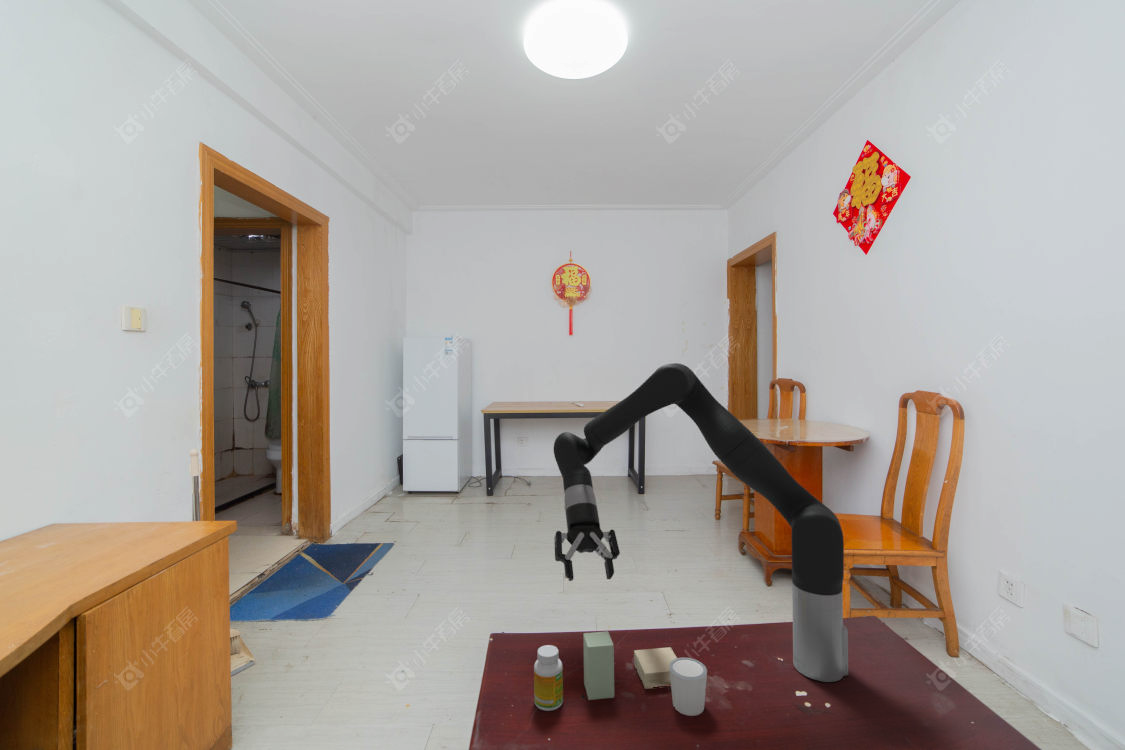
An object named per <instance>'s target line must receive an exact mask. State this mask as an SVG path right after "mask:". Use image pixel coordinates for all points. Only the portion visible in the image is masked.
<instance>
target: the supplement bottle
mask: <svg viewBox="0 0 1125 750" xmlns="http://www.w3.org/2000/svg"><path fill="white" fill-rule="evenodd" d="M559 654H560V653H559V649H558V647H556V646H555V645H552V644H547V645H546V644H545V645H542V646H540V647H539V648H538V649H537V656H536V657H537V659H536V661H535V662H534V666H533V680H534V681H533V686H534V687H533V688H534V689H533V691H534V692H533V693H534V694H533V695H534V698H533V700H534V704H535V706H536V707H537V708H538V709H539V710H542V711H546V712H550V711H551V712H552V711H555V710H558V709H559V708H560V707H561V706H562V704H563V702H564V682H563V681H564V679H563V677H564V675H563V673H564V672H563V669H564V667H563V662H562V661H561V659H560V657H559Z"/></svg>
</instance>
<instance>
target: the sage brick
mask: <svg viewBox="0 0 1125 750" xmlns="http://www.w3.org/2000/svg"><path fill="white" fill-rule="evenodd" d="M582 636H583V684H584V688H585V691H586V696H587V699H588V701H591V700H593V701H594V700H601V699H613V698H615V655H614V654H615V649H614V648H615V647H614V642H613V640H612V638H611V635H610V633H609V631H605V630H604V631H595V632H584V633H583V635H582Z"/></svg>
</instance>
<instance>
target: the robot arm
mask: <svg viewBox="0 0 1125 750" xmlns="http://www.w3.org/2000/svg"><path fill="white" fill-rule="evenodd" d="M671 405H676V406H677V407H678V408H679V409H681V410H682V411H683V412H684V413H685V414H686V415H687V416H688V417H689V418H690V419H691V420H692V422H693V423H694V424H695V425H696V426H697V428H698V430H699V431H700V432H701V434H702V437H703V438H704V440H705V442H706V443H707V445H708V446H709V448H710V450H711V451H712V452H713V453H714V455H715V456H716V458H718V460H719V461H721V463H722V464H723V465H724V466H725V467H726V468H727V469H728V470H729V471H730V473H732V474H733V475H734V476H735V477H736V478H737V479H738V480H739V481H741V482H742V483H744V484H745V485H746V486H748V487H749V488H751V489H752V490H753V491H755V492H756V493H758V494H759V495H761V496H762V497H763V498H765V499H766V500H767V501H768V502H769V503H770V504H771V505H772V506H773V507H774V508H775V510H777V511H778V512H779V514H780V515H781V516H782V517H783V518H784V519H785V521H786V522H787V524H788V525H789V526H790V528H791V579H792V580H791V581H792V583H791V584H792V585H791V586H792V589H791V591H792V595H791V596H792V600H791V601H792V663H793V666H794V668H795V669H796V670H797V671H798V672H799V673H800V674H802V675H803V676H805V677H807V678H809V679H812V680H815V681H819V682H824V683H832V682H833V683H834V682H835V683H836V682H838V681H841V679H843V677H845V676H849V636H848V635H849V630H848V627H847V626H846V625H844V610H843V608H844V606H843V602H844V601H843V595H844V593H843V590H844V589H843V586H844V585H843V582H844V577H845V576H844V566H845V565H844V564H845V563H844V561H845V560H844V558H845V557H844V556H845V555H844V553H845V550H844V549H845V547H844V545H845V544H844V533H843V529H842V526H841V523H840V521H839V518H838V517H837V515H836V514H835V512H833V511H832V510H831V509H830V508H829V507H828V506H826V505H825V504H824V503H823V502H822V501H820V500H819V499H817V498H816V497H815V496H814V495H813V494H811V493H810V492H809V491H808V490H807V489H806V488H804V487H803V486H802V485H801V484H800V483H799V482H798V481H797V480H796V479H795V478H794V477H793V476H792V475H791V474H790V473H789V471H788V470H787V468H786V467H784V466H783V464H782V463H781V462H780V461H779V459H778V458H777V457H776V456H775V455H774V454H773V453H772V452H771V451H770V450H769V449H768V447H767V446H766V445H765V444H764V443H763V442H762V441H761V440H760V439H759V438H758V437H757V436H756V435H755V434H754V433H753V432H752V431H751V430H750V429H749V428H747V426H745V425H744V424H743V423H742V422H741V421H740V420H739V419H738V418H737V417H736V416H735V415H733V413H731V412H730V411H729V410H728V409H727V408H726V407H725V406H724V405H722V404H721V403H720V402H719V400H717V399H716V398H715V397H714V396H713V394H712V393H711V392H710V391H709V389H708V388H707V387H706V386H705V385H704V383H703V382H702V381H701V380H700V379H699V378H698V376H697V375H696V374H695V372H694V371H693V370H692V369H691V368H689V367H688V366H686V365H685V364H682V363H678V362H676V363H675V362H674V363H667V364H664V365H661V366H660V367H657V369H656V370H655V371H654V372H653V373H651V375H650V376H649V377H648V378H647V379H646V380H645V381H644V382H642V384H640V385H639V387H638V388H636V389H635V390H634V391H633V392H632V393H630V394H629V395H628V396H626V397H625V398H623V399H622V400H621V401H619V402H617V403H616V404H615V405H613V406H611V407H609V408H608V409H606V410H605V411H604V412H602V413H600V414H599V415H598V416H596V417H595V418H593V419H592V420H590V421H589V422H587V423H586V424H585V426H584V428H583V433H584V438H582V437H579V436H578V435H576V434H574V433H572V432H568V431H565V432H561V433H560V434H559V435H558V436H557V437H556V438H555V440H554V443H553V455H554V456H553V457H554V458H555V459H554V460H555V462H556V464H557V467H558V469H559V472H560V474H561V476H562V483H563V492H564V498H563V499H564V500H563V501H564V510H565V519H566V528H567V532H562V531H560V530H557V531H556V532H555V535H554V537H553V538H554V539H553V540H554V559H555V562H561V563H563V567H564V574H565V575H564V576H565V578H566V579H568V582H572V581H573V580H574V569H573V568H574V567H573V561H572V558H573V556H574V555H575V553H576V552H578V553H579V554H583V553H594V552H595V553H596V554H597V555H598V556H600V557H601V559H603V561H604V568H605V569H604V570H605V577H606V579H607V580H611V579H612V577H613V576H614V574H615V568H614V562H613V560H616V559H618V556H620V553H621V551H620V548H619V544H618V539H617V536H616V531H615V530H614V529H610V530H609V531H603V530H602V529H601V524H600V523H601V522H600V517H599V510H598V505H597V498H596V496H595V495H596V493H595V492H594V487H593V481H592V480H593V479H592V475H591V472H590V470H589V469H588V467H587V466H586V465H588V464H589V463H590V462H592V461H593V459H595V457H596V456H597V455H598V454H599V453H600V451H601V450H602V448H604V447H605V446H606V445H608V444H610V443H611V442H613V441H614V440H616V439H618V437H620V436H622V435H623V434H625V433H626V432H627V431H628V430H630V429H631V428H632V427H633V426H634V425H636V424H637V423H638V422H640V421H641V420H643V419H644V418H646V417H647V416H648V415H651V414H652V413H654V412H656V411H659V410H661V409H663V408H666V407H668V406H671ZM602 539H604V540H605V541H606V542H607V543H608V545H609V549H610V550H609V549H608V548H607V546H606V545H605V544H604V543H603V541H602ZM565 540H567V541H568V543H569V544H570V545H571V546H570V548H569V549H568V551H567V552H566V554H565V553H563V543H564V542H565Z"/></svg>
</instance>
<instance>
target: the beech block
mask: <svg viewBox="0 0 1125 750" xmlns="http://www.w3.org/2000/svg"><path fill="white" fill-rule="evenodd" d="M677 658H678V657H677V656H676V654H675V653H674V651H673V648H672V647H671V646H669V647H668V646H667V647H658V648H656V647H655V648H646V649H637V650H636V649H635V650H633V665H634V668H635V669H637V670H636V671H637V674H638V676H639V679H640V681H641V680H642V681H641V683H642V684H643V688H644V690H646V689H647V690H648V689H654V688H653V687H658V686H665V685H671V680H670V670H669V664H670V662H671V661H673V660H674V659H677Z"/></svg>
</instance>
